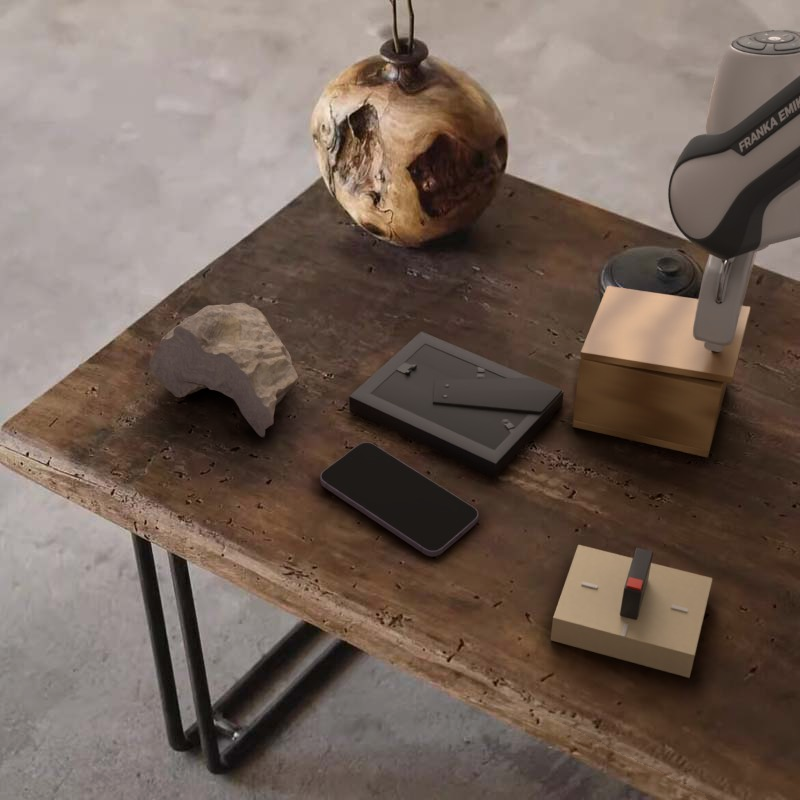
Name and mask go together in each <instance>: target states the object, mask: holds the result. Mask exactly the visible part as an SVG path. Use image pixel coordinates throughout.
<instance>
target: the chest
mask: <svg viewBox="0 0 800 800" xmlns="http://www.w3.org/2000/svg"><path fill="white" fill-rule="evenodd" d="M577 373H578V374H577V383H576V391H575V401H574V409H573V417H572V427H573V428H576V429H579V430H584V431H590V432H592V433H593V432H594V433H598V434H601V435H607V436H610V437H611V436H612V437H614V438H615V437H616V438H620V439H624V440H628V441H633V442H637V443H641V444H646V445H650V446H655V447H658V448H659V447H660V448H664V449H669V450H673V451H677V452H680V453H686V454H690V455H695V456H698V457H703V458H709V454H710V451H711V446H712V443H713V439H714V436H715V432H716V427H717V424H718V421H719V416H720V414H721V413H720V412H721V409H722V404H723V401H724V397H725V394H726V389H727V385H728V383H727V382H721V381H714V380H708V379H702V378H696V377H690V376H684V375H678V374H672V373H666V372H660V371H654V370H648V369H642V368H635V367H629V366H623V365H617V364H611V363H605V362H599V361H593V360H587V359H581V358H580V357H579V365H578V372H577Z"/></svg>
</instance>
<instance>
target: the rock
mask: <svg viewBox="0 0 800 800" xmlns="http://www.w3.org/2000/svg"><path fill="white" fill-rule="evenodd" d="M148 365H149V368H150V375H151V376H152V377H154V378H156V379H157V380H158V381H159V382H161V384H162V385H163V386H164V388H165V389H166V390H168V391H169V392H170V393H171V394H172V395H173V396H174V397H176V398H185V397H186V396H188V395H192V394H193V393H197V392H199V391H200V390H202V389H207V388H208V389H209V390H211V391H217V392H219V393H222V394H223V395H225V396H227V397H229V398H231V399H232V400H233V401H234V402H235V404H236V405H237V407H238V408H239V411H240V413H241V415H242V416H243V417H244V419H245V420H246V422H247V423H248V424H249V425H250V427H251V428H252V429H253V430H254V431H255V433H256V434H257V435H258V436H259V437H261V438H265V436H266V429H268V428H269V427H270V426H273V425H274V421H275V420H274V415H275V411H276V406H277V405H278V404H279V403H280V402H281V401H282V399H283V398H284V397H285V396H286V395H287V393H288V392H289V391H290V390H291V389H292V388H293V387H294V386H295V384H296V383H297V381H298V379H299V376H298V374H297V371H296V369H295V367H294V365H293V362H292V357H291V354H290V353H289V351H288V350H287V347H286V346H285V345H284V344H283V343H282V340H281V338H280V337H279V336H278V335H277V334H276V333H275V331H274V330H273V328H272V327H271V324H270V323H269V321H268V319H267V317H266V316H265V315H264V314H263V312H262V311H261V310H260V309H258V308H257V307H253V306H250V305H248V304H247V303H245V302H237V303H236V302H233V303H230V304H213V305H212V304H211V305H210V304H208V305H205V306H204V307H202V308H201V309H200V310H198V311H197V312H196V313H194V314H192V315H189V316H187V317H185V318H184V319H183V320H182V321H181V322H180V323H179V324H178V325H176V326H174V327H173V328H172V329H170V331H168V332H167V333H166V334H165V335H164V336H163V337H162V338H161V340H160V342H159V344H158V346H157V348H156V350H155V351H154V353H153V355H152V356H151V358H150V360H149V363H148Z"/></svg>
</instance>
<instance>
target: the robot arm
mask: <svg viewBox="0 0 800 800" xmlns="http://www.w3.org/2000/svg"><path fill="white" fill-rule="evenodd" d="M713 81H714V82H713V85H712V90H711V94H710V97H709V98H710V99H709V103H708V109H707V110H708V111H707V115H706V122H705V133H704V134H703V133H702V134H699V135H695V136H694V137H692V138H691V139H690V140H689V141H688V143H687V144H686V145H685V147H684V148H683V150H682V151H681V153H680V154H679V157H678V159H677V160H676V162H675V165H674V167H673V170H672V172H671V174H670V178H669V182H668V188H667V189H668V190H667V198H668V207H669V211H670V214H671V217H672V220H673V222H674V224H675V225H676V228H677V229H678V231H680V233H681V235H683V236H684V237H685V238H686V239H687V240H689V241H690V242H691V243H692V244H693V245H695V247H697V248H699V249H700V250H701V251H704V252H705V253H707V254H708V257H707V261H706V264H705V266H704V270H703V274H702V279H701V284H700V288H699V289H700V290H699V294H698V298H697V299H698V303H697V309H696V314H695V319H694V325H693V337H694V338H695V339H696V340H698V341H702V342H705V344H704V347H705V348H706V349H707V350H710V351H715V352H721V351H722V350H723V348H724V346H728V345H730V344H731V343H732V341H733V338H734V335H735V332H736V328H737V324H738V321H739V317H740V313H741V309H742V306H744V301H745V297H746V294H747V291H748V287H749V282H750V280H751V276H752V271H753V267H754V264H755V259H756V256H757V253H758V252H761V251H763V250H765V249H767V248H768V247H770V245H775V244H778V243H781V242H786V241H789V240H794V239H797V238H800V31H795V30H789V29H783V30H782V29H776V30H775V29H769V30H763V31H762V30H761V31H756V32H753V33H749V34H745V35H742V36H739V37H737V38H736V39H734V40H733V41H731V42H730V43H729V45H727V47H726V49H725V50H724V53H723V55H722V57H721V59H720V62H719V64H718V67H717V71H716V73H715V78H714V80H713Z"/></svg>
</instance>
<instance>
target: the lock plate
mask: <svg viewBox="0 0 800 800" xmlns="http://www.w3.org/2000/svg"><path fill="white" fill-rule="evenodd" d="M632 560H633V557H629V556H625V555H621V554H617V553H613V552H611V551H605V550H601V549H597V548H593V547H590V546H585V545H581V544H578V545H577V547H576V550H575V553H574V555H573V558H572V562H571V564H570V567H569V571H568V573H567V576H566V579H565V582H564V585H563V587H562V590H561V594H560V597H559V599H558V603H557V604H556V608H555V611H554V614H553V616H552V622H551V623H552V625H551V632H550V641H552V642H556V643H559V644H562V645H565V646H566V645H567V646H570V647H574V648H576V649H577V648H578V649H582V650H585V651H589V652H593V653H596V654H600V655H602V656H607V657H610V658H615V659H618V660H622V661H625V662H629V663H633V664H636V665H639V666H644V667H647V668H651V669H655V670H659V671H661V672H666V673H670V674H672V675H673V674H674V675H677V676H681V677H685V678H688V679H690V677H691V673H692V670H693V666H694V662H695V661H694V660H695V656H696V652H697V649H698V648H697V647H698V644H699V639H700V635H701V631H702V626H703V622H704V618H705V613H706V609H707V605H708V601H709V597H710V592H711V588H712V583H713V578H712V577H709V576H705V575H702V574H697V573H693V572H689V571H685V570H681V569H678V568H673V567H669V566H666V565H662V564H657V563H653V562H651V567H650V573H649V578H648V582H647V586H646V589H645V593H644V597H643V600H642V604H641V607H640V611H639V615H638V618H637V620H634V619H630V618H626V617H622V616H620V610H621V604H622V598H623V592H624V587H625V583H626V580H627V577H628V573H629V570H630V566H631V563H632Z"/></svg>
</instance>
